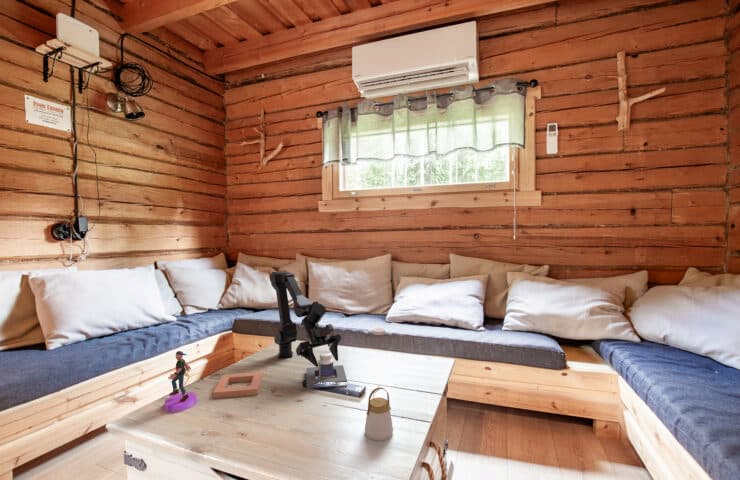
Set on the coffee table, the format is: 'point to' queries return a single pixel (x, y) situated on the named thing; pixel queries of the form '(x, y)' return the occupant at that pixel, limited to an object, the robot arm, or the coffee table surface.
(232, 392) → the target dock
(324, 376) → the pill bottle
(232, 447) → the coffee table surface
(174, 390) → the figurine
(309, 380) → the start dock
